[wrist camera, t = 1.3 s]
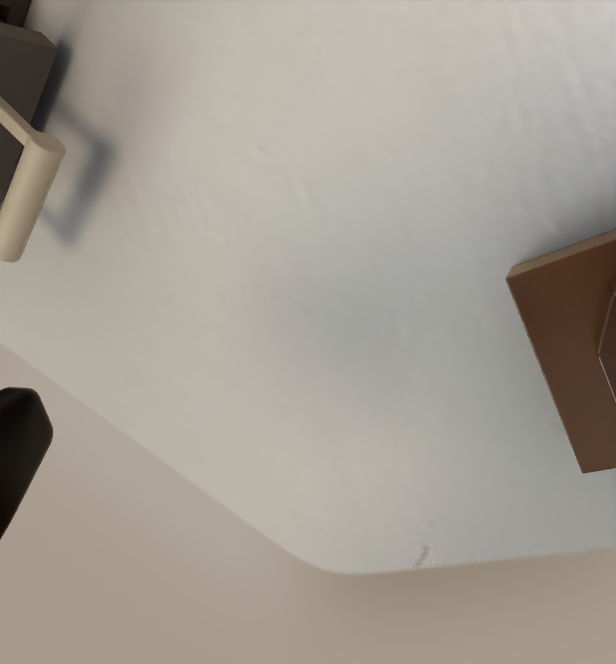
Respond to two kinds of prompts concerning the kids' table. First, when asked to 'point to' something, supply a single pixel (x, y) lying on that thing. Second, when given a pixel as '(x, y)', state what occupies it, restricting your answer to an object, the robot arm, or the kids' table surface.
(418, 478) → the kids' table surface
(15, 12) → the fryer
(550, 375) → the block
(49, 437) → the robot arm
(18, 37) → the drawer
